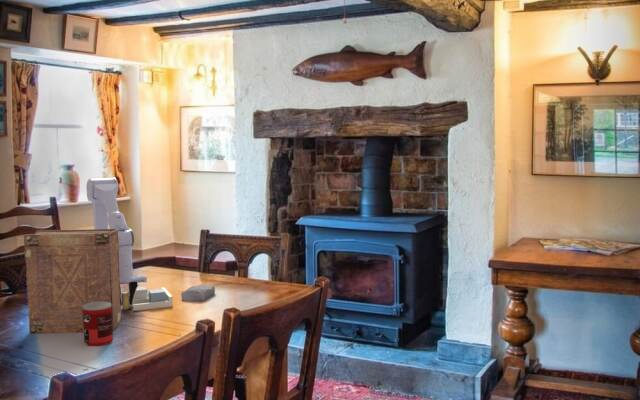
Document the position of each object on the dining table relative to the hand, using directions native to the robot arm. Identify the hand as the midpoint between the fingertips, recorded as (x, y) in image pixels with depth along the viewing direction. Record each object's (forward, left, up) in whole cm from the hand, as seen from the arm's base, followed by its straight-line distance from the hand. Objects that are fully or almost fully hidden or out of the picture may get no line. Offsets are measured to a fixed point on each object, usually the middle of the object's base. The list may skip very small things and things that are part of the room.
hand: (125, 304), depth 226 cm
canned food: (+35, -12, -2) cm, 37 cm away
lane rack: (-4, +8, -1) cm, 9 cm away
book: (+17, -17, -2) cm, 24 cm away
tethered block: (0, +6, -1) cm, 6 cm away
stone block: (-6, +26, -2) cm, 27 cm away
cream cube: (-7, +6, -2) cm, 9 cm away
